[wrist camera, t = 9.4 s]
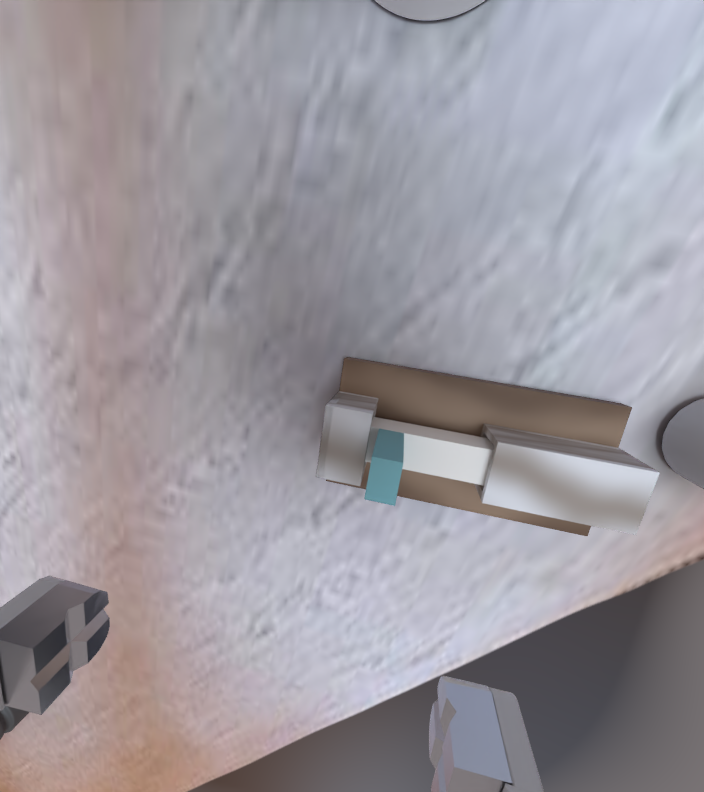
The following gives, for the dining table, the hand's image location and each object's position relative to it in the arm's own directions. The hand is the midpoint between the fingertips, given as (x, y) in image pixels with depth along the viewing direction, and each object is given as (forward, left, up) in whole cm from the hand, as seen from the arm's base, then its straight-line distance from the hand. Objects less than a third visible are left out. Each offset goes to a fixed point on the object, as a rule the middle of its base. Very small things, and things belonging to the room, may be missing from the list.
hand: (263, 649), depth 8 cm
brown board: (+2, +9, -26) cm, 27 cm away
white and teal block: (+2, +6, -23) cm, 24 cm away
